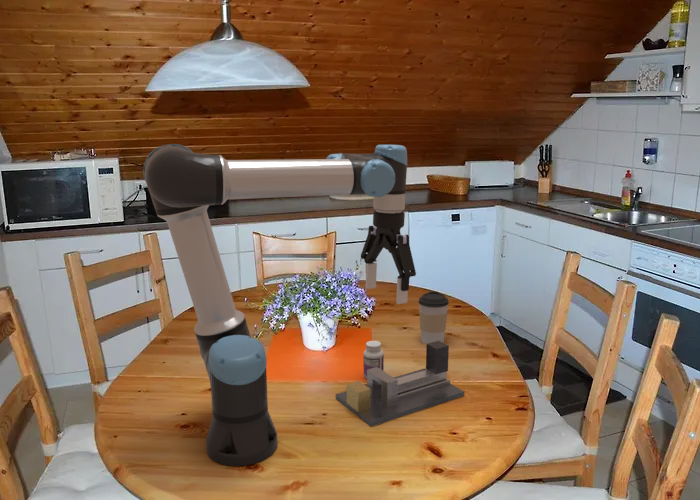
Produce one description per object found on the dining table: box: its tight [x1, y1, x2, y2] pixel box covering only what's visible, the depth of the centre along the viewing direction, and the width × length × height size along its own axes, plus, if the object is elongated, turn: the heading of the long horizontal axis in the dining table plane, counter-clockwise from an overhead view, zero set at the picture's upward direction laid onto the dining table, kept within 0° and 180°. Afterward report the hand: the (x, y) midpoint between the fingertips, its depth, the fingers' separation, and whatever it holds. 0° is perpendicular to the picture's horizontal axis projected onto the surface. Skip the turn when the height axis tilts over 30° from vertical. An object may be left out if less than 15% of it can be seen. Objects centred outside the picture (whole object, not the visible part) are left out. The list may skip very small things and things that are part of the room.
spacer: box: [346, 380, 370, 412], centre depth 147 cm, size 5×5×4 cm
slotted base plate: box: [335, 367, 465, 428], centre depth 153 cm, size 28×16×8 cm, turn 121°
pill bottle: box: [363, 340, 385, 380], centre depth 164 cm, size 5×5×10 cm
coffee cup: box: [418, 290, 449, 345], centre depth 187 cm, size 9×9×15 cm
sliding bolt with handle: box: [397, 341, 450, 395], centre depth 155 cm, size 16×4×10 cm, turn 121°
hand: (385, 295), depth 151 cm, fingers open, 13 cm apart
